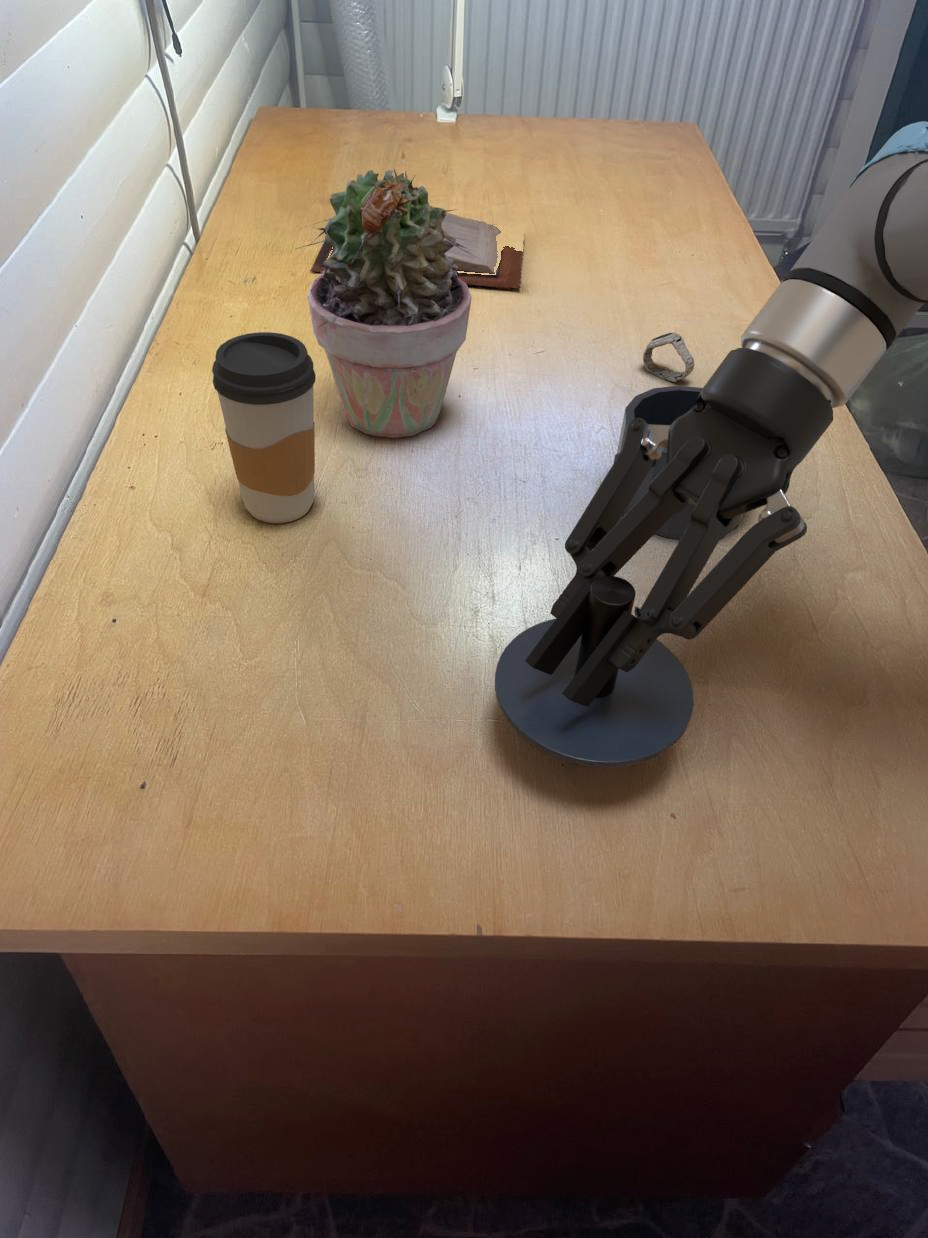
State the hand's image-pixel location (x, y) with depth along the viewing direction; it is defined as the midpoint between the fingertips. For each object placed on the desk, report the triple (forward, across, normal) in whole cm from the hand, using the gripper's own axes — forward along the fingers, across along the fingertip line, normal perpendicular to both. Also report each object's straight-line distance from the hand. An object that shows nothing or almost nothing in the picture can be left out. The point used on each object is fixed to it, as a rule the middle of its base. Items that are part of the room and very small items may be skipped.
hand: (556, 683), depth 59 cm
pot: (-17, +15, -27) cm, 35 cm away
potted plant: (-8, +44, -18) cm, 48 cm away
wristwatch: (-29, +32, -39) cm, 58 cm away
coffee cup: (+5, +36, -5) cm, 37 cm away
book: (-27, +75, -37) cm, 88 cm away
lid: (-1, 0, -5) cm, 5 cm away
